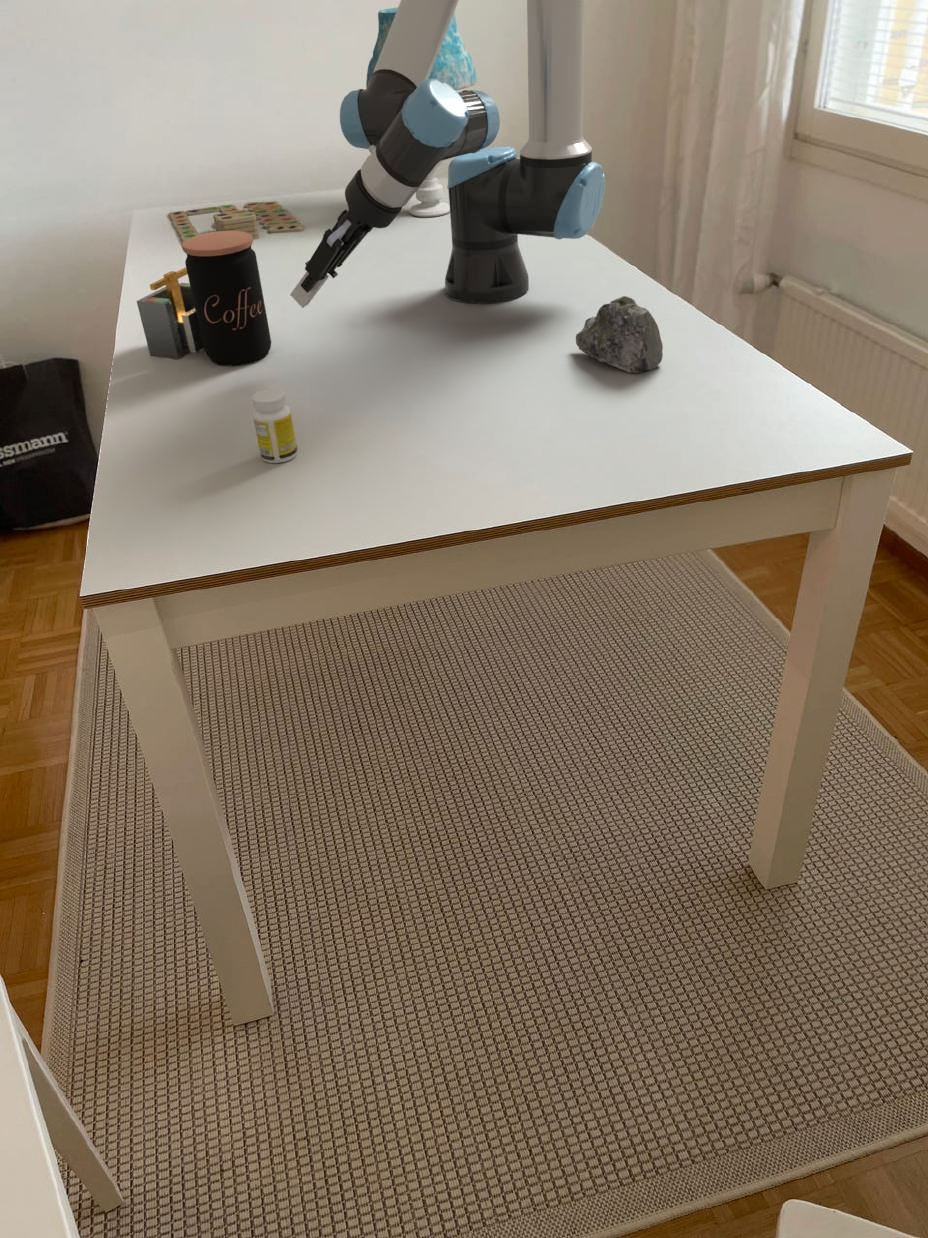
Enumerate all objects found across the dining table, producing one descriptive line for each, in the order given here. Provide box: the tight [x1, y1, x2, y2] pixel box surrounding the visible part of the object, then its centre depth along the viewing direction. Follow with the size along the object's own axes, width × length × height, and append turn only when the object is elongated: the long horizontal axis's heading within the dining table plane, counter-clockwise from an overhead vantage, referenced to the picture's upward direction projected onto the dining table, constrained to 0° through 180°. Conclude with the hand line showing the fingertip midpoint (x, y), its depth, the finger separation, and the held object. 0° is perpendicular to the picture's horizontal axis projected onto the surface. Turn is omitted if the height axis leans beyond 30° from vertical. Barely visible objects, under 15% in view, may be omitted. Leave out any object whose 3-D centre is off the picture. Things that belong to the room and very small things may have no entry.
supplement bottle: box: [252, 388, 298, 464], centre depth 125 cm, size 5×5×8 cm
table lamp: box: [365, 6, 478, 218], centre depth 214 cm, size 24×24×40 cm
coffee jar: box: [181, 231, 272, 367], centre depth 153 cm, size 11×11×18 cm
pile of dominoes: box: [168, 200, 306, 243], centre depth 227 cm, size 35×27×6 cm
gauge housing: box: [136, 282, 195, 360], centre depth 160 cm, size 6×9×9 cm, turn 156°
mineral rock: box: [575, 295, 664, 374], centre depth 145 cm, size 13×11×10 cm
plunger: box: [149, 266, 204, 353], centre depth 157 cm, size 6×9×11 cm, turn 156°
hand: (298, 299), depth 149 cm, fingers closed
